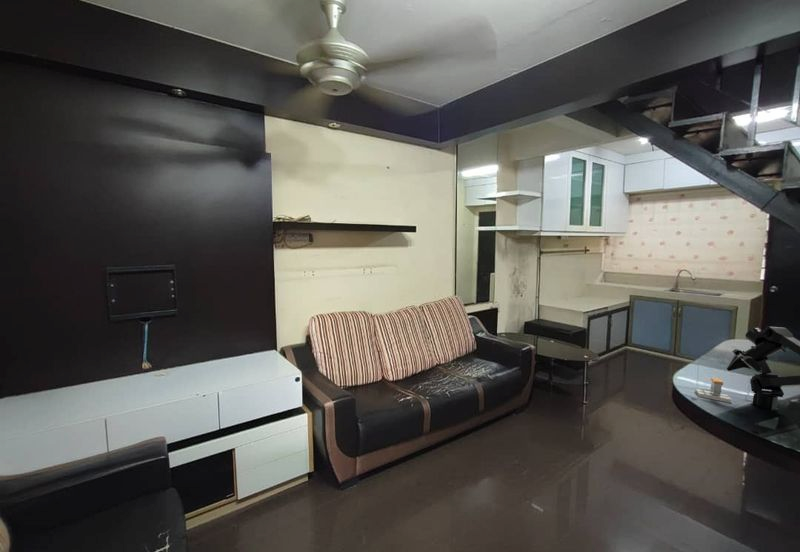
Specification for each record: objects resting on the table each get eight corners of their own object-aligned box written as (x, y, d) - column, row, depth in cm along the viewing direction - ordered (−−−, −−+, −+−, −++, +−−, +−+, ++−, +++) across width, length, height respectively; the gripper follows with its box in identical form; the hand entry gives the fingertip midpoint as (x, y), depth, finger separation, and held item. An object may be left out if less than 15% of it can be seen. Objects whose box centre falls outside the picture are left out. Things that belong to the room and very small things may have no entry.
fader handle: (717, 392, 164) (719, 379, 164) (721, 396, 160) (723, 382, 159) (709, 391, 166) (711, 377, 165) (712, 394, 161) (714, 380, 161)
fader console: (726, 397, 163) (727, 394, 163) (731, 402, 158) (731, 399, 158) (695, 391, 169) (695, 388, 169) (698, 396, 164) (699, 393, 163)
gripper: (789, 371, 145) (750, 391, 151) (770, 360, 161) (736, 378, 167) (764, 349, 148) (727, 369, 155) (749, 340, 164) (716, 359, 171)
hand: (727, 369), depth 162 cm, fingers closed
